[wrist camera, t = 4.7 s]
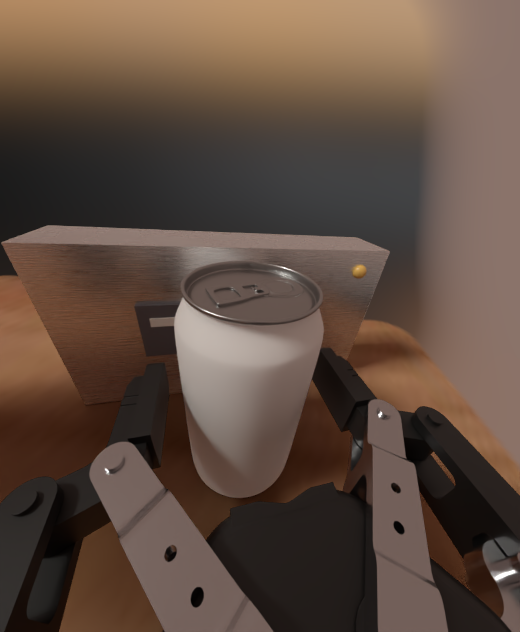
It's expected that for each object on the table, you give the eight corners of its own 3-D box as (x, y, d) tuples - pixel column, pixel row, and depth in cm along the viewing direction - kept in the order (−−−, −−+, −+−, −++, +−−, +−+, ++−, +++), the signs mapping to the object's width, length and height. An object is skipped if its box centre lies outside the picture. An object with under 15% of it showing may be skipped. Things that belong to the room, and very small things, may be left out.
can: (307, 466, 14) (372, 306, 8) (210, 529, 12) (194, 354, 5) (259, 392, 19) (277, 253, 13) (182, 423, 16) (155, 264, 10)
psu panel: (82, 411, 16) (-7, 245, 10) (103, 367, 20) (47, 225, 14) (344, 375, 22) (395, 253, 15) (323, 346, 25) (356, 237, 19)
